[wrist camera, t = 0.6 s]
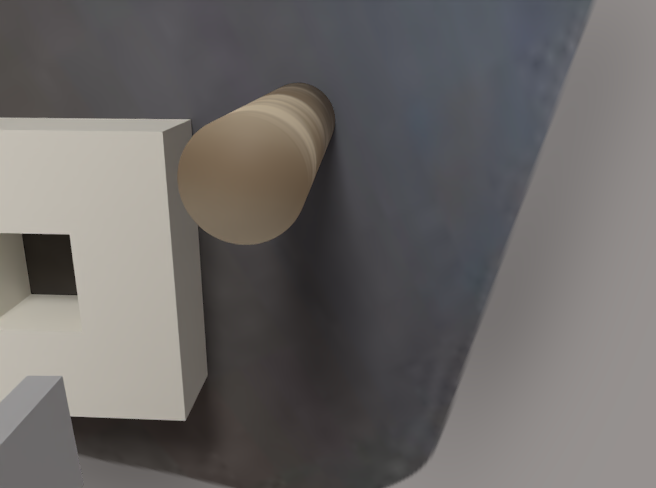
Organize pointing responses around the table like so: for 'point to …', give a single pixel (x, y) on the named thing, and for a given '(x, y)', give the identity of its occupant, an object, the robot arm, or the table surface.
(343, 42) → the table surface
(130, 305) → the socket block
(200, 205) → the dowel
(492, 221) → the table surface
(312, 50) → the table surface
